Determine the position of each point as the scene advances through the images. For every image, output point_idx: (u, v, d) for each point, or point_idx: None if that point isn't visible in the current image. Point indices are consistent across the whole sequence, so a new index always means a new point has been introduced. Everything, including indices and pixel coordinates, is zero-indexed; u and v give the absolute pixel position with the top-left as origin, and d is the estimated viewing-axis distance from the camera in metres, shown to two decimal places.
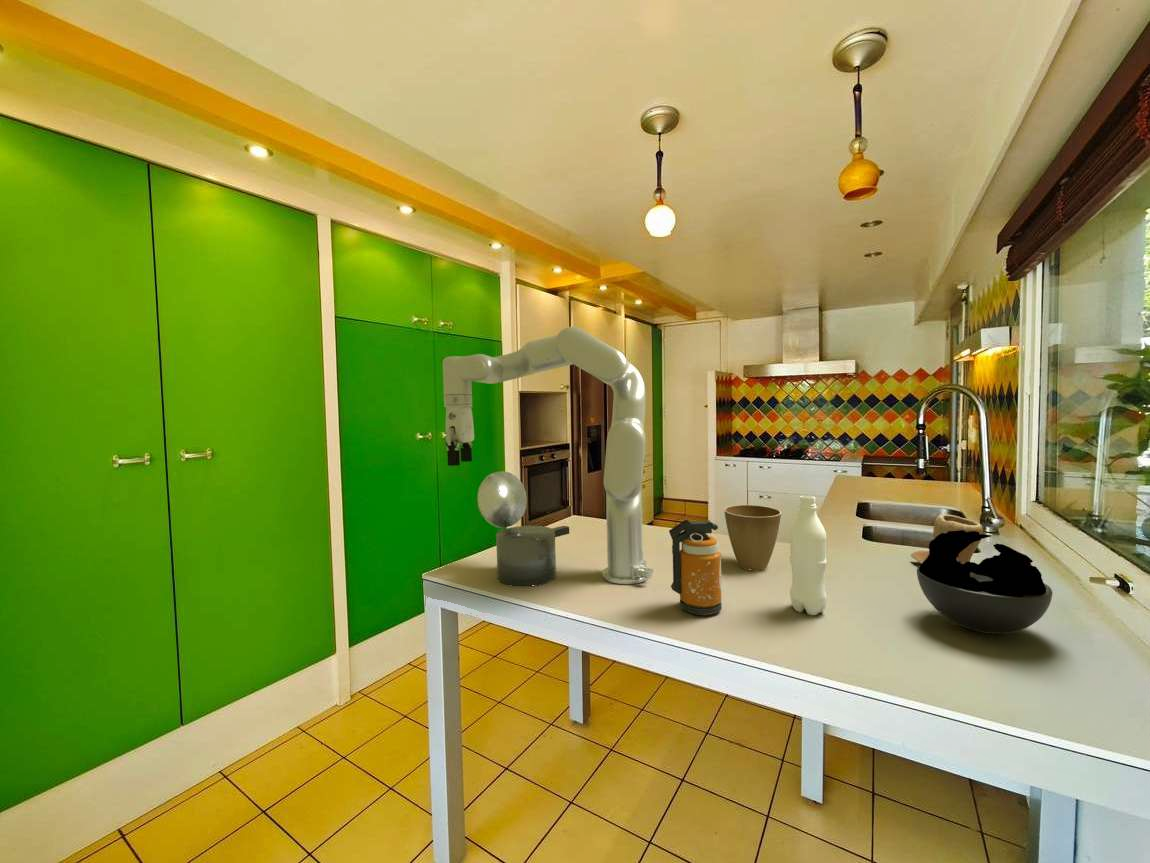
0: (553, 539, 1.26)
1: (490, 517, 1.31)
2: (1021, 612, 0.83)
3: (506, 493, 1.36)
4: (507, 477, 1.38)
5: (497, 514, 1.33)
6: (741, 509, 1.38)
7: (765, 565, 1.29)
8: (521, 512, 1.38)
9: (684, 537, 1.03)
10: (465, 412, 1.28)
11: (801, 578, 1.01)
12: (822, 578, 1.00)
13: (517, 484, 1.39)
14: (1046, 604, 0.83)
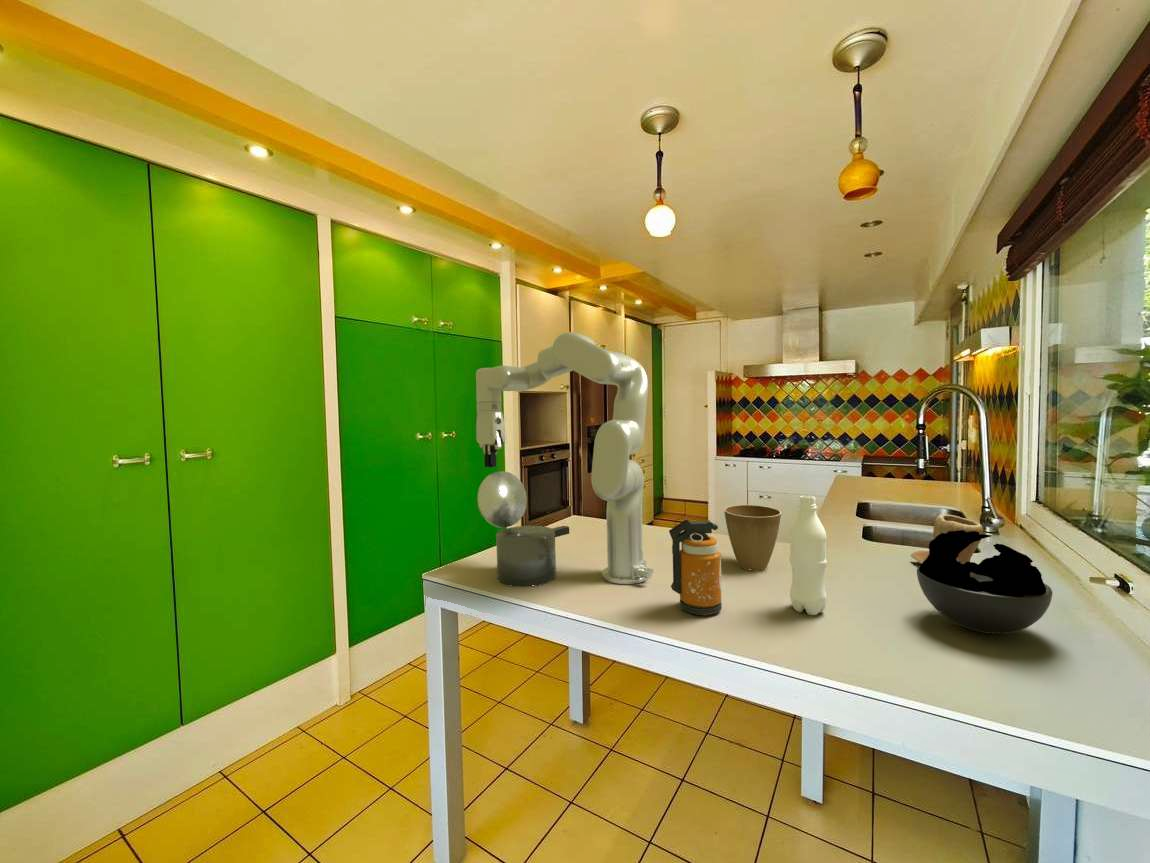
0: (553, 539, 1.26)
1: (490, 517, 1.31)
2: (1021, 612, 0.83)
3: (506, 493, 1.36)
4: (507, 477, 1.38)
5: (497, 514, 1.33)
6: (741, 509, 1.38)
7: (765, 565, 1.29)
8: (521, 512, 1.38)
9: (684, 537, 1.03)
10: None
11: (801, 578, 1.01)
12: (822, 578, 1.00)
13: (517, 484, 1.39)
14: (1046, 604, 0.83)
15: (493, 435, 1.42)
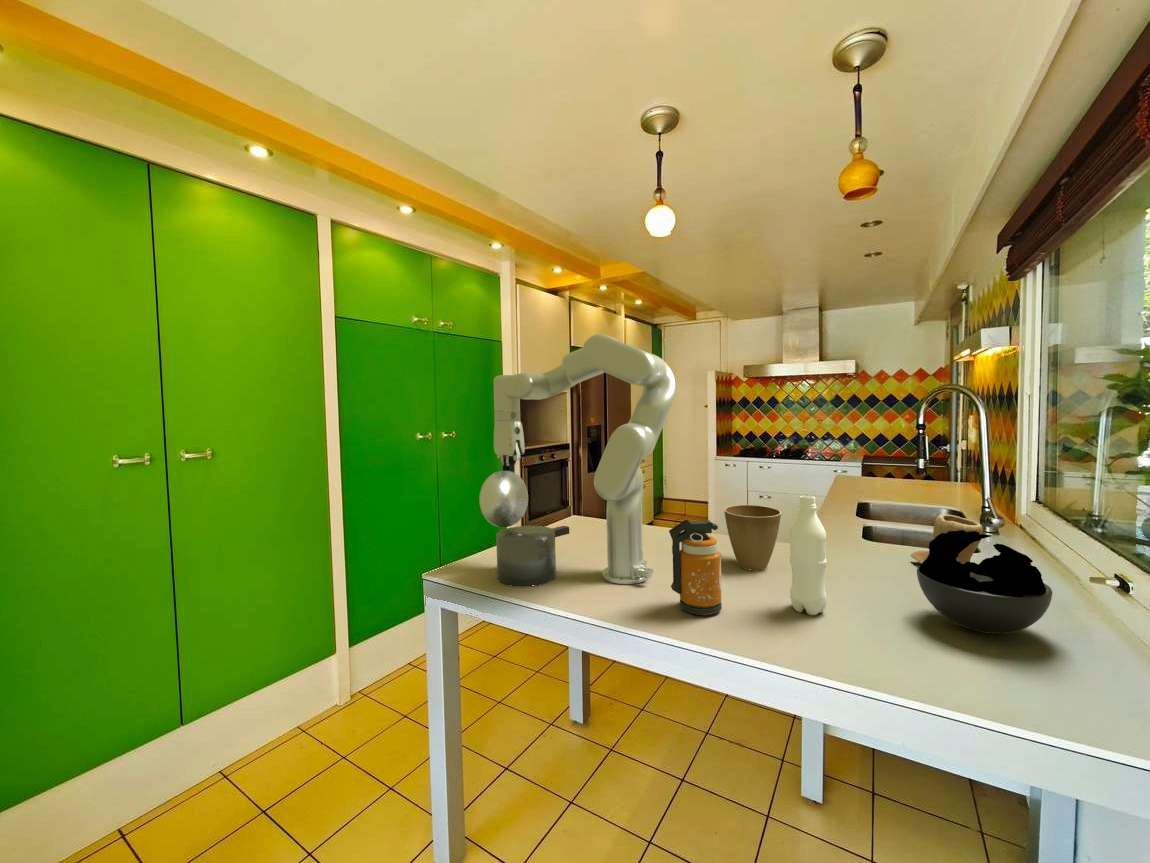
0: (553, 539, 1.26)
1: (491, 517, 1.31)
2: (1021, 612, 0.83)
3: (508, 493, 1.35)
4: (510, 477, 1.36)
5: (498, 514, 1.32)
6: (741, 509, 1.38)
7: (765, 565, 1.29)
8: (522, 512, 1.38)
9: (684, 537, 1.03)
10: None
11: (801, 578, 1.01)
12: (822, 578, 1.00)
13: (519, 484, 1.39)
14: (1046, 604, 0.83)
15: (512, 446, 1.35)
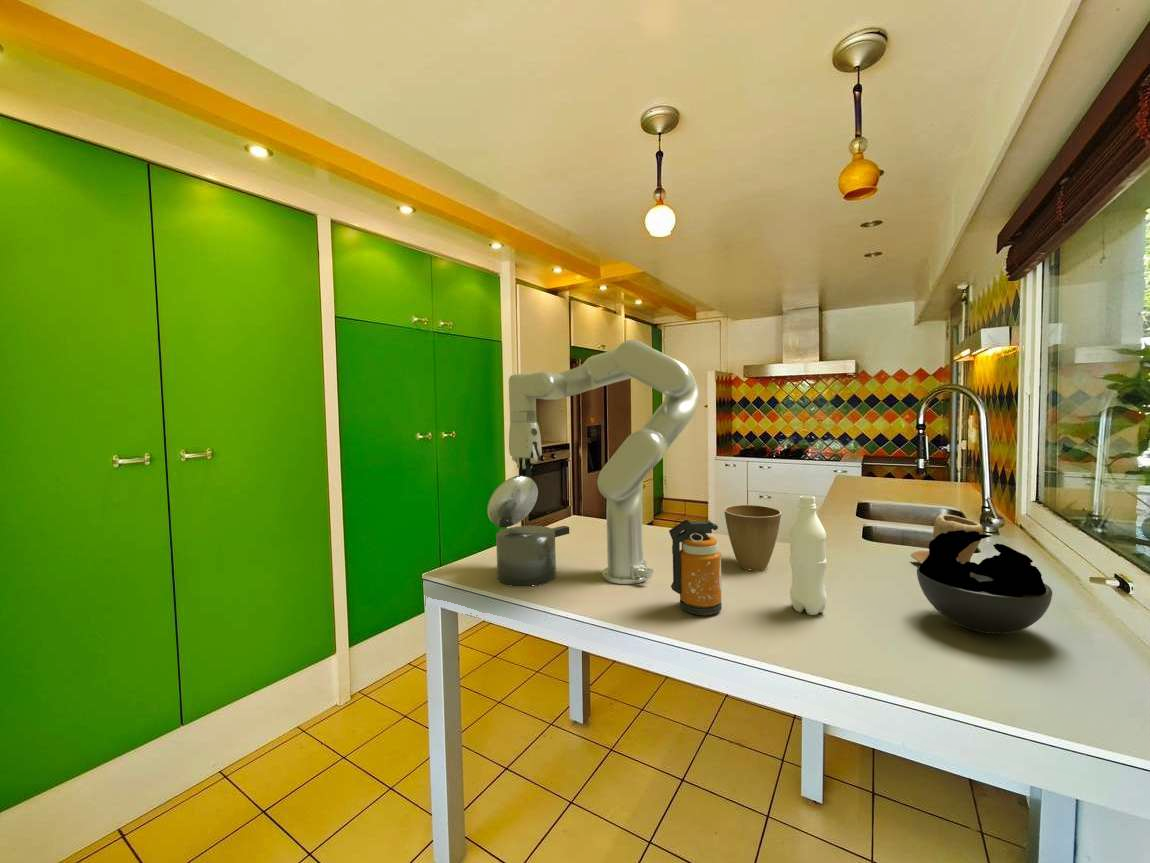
0: (553, 539, 1.26)
1: (495, 519, 1.29)
2: (1021, 612, 0.83)
3: (518, 497, 1.32)
4: (525, 483, 1.31)
5: (502, 517, 1.31)
6: (741, 509, 1.38)
7: (765, 565, 1.29)
8: (525, 514, 1.37)
9: (684, 537, 1.03)
10: None
11: (801, 578, 1.01)
12: (822, 578, 1.00)
13: (532, 489, 1.34)
14: (1046, 604, 0.83)
15: (529, 448, 1.29)
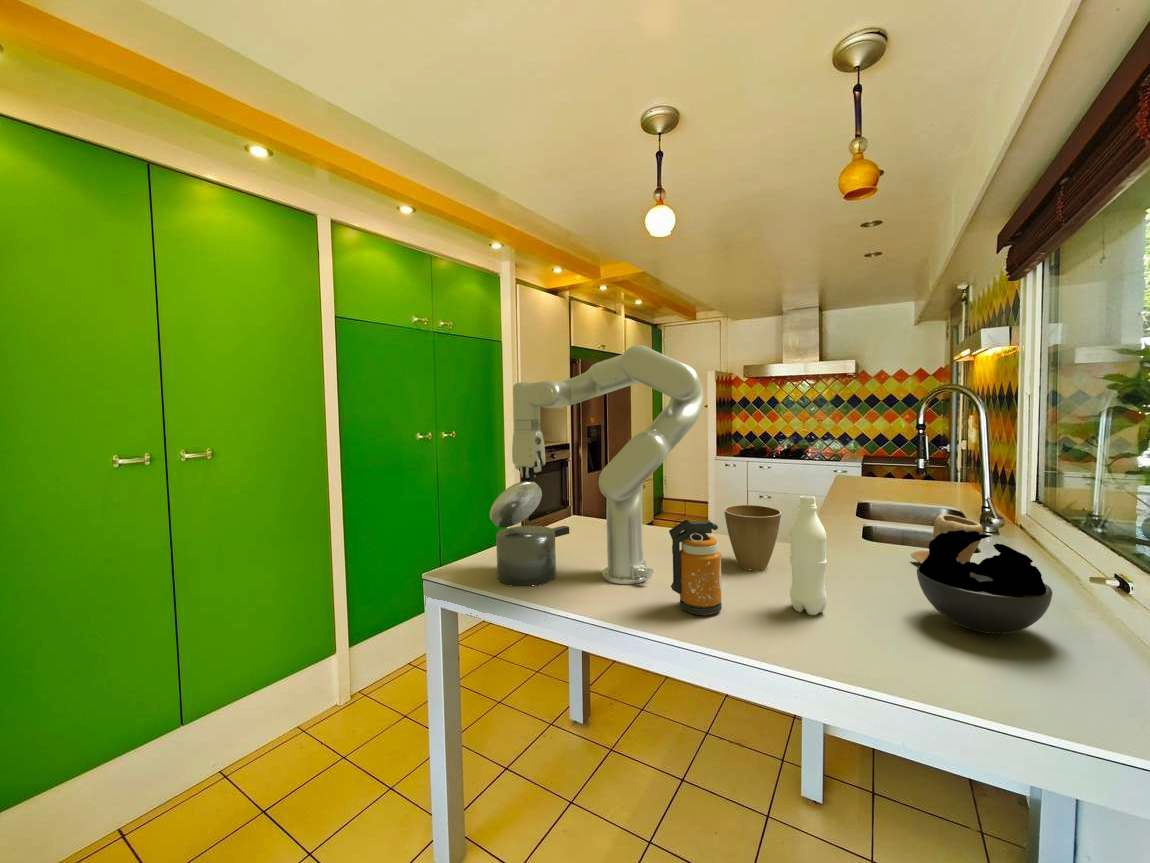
0: (553, 539, 1.26)
1: (496, 521, 1.29)
2: (1021, 612, 0.83)
3: (522, 501, 1.31)
4: (530, 488, 1.29)
5: (504, 518, 1.30)
6: (741, 509, 1.38)
7: (765, 565, 1.29)
8: (527, 515, 1.36)
9: (684, 537, 1.03)
10: None
11: (801, 578, 1.01)
12: (822, 578, 1.00)
13: (537, 493, 1.33)
14: (1046, 604, 0.83)
15: (533, 457, 1.28)
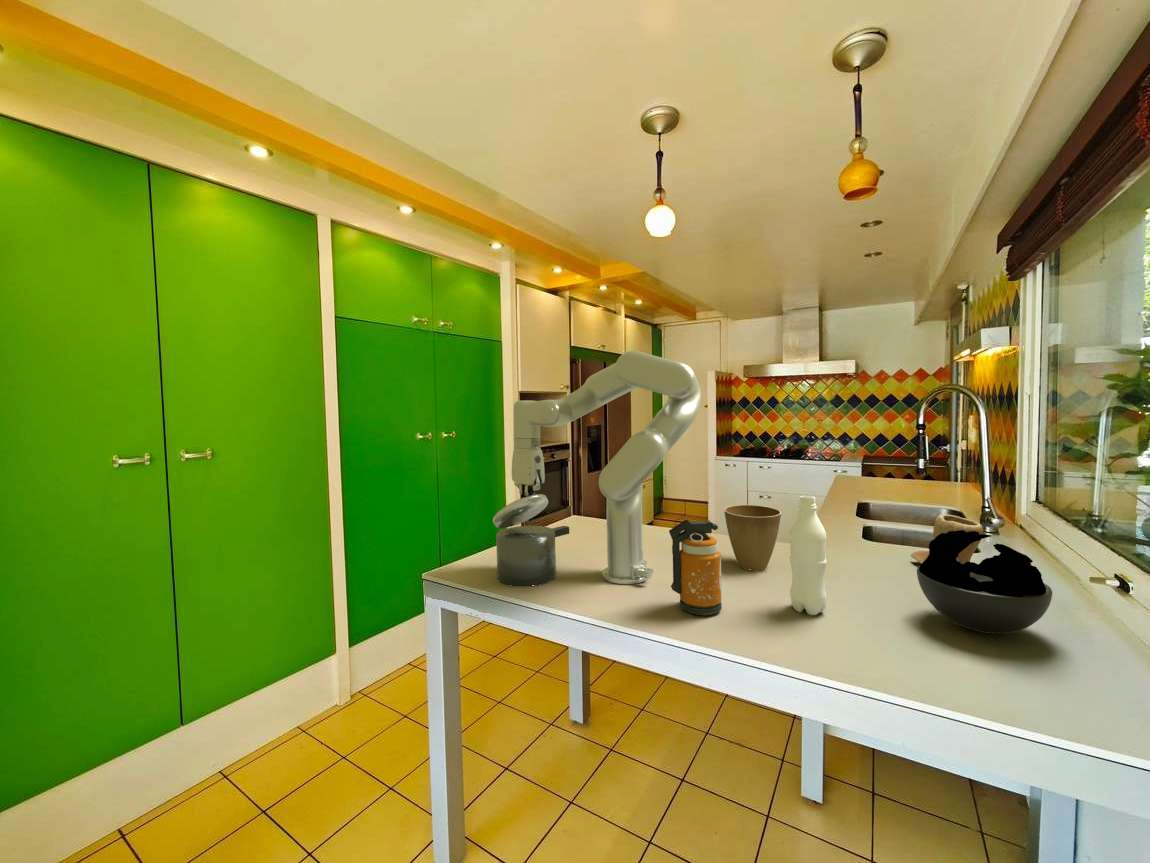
0: (553, 539, 1.26)
1: (498, 524, 1.28)
2: (1021, 612, 0.83)
3: (527, 510, 1.29)
4: (538, 501, 1.27)
5: (506, 522, 1.30)
6: (741, 509, 1.38)
7: (765, 565, 1.29)
8: (528, 518, 1.36)
9: (684, 537, 1.03)
10: None
11: (801, 578, 1.01)
12: (822, 578, 1.00)
13: (543, 503, 1.31)
14: (1046, 604, 0.83)
15: (532, 475, 1.28)
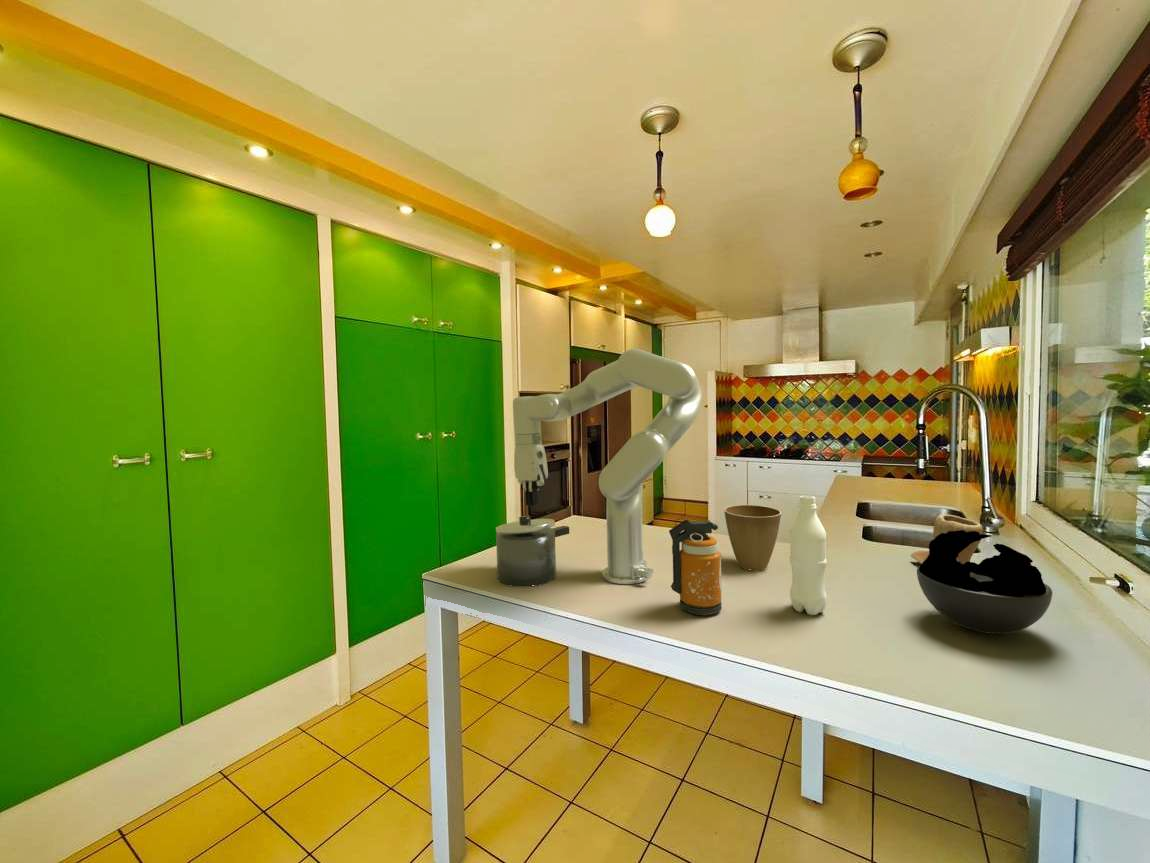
0: (553, 539, 1.26)
1: None
2: (1021, 612, 0.83)
3: None
4: None
5: None
6: (741, 509, 1.38)
7: (765, 565, 1.29)
8: None
9: (684, 537, 1.03)
10: None
11: (801, 578, 1.01)
12: (822, 578, 1.00)
13: None
14: (1046, 604, 0.83)
15: (535, 471, 1.28)
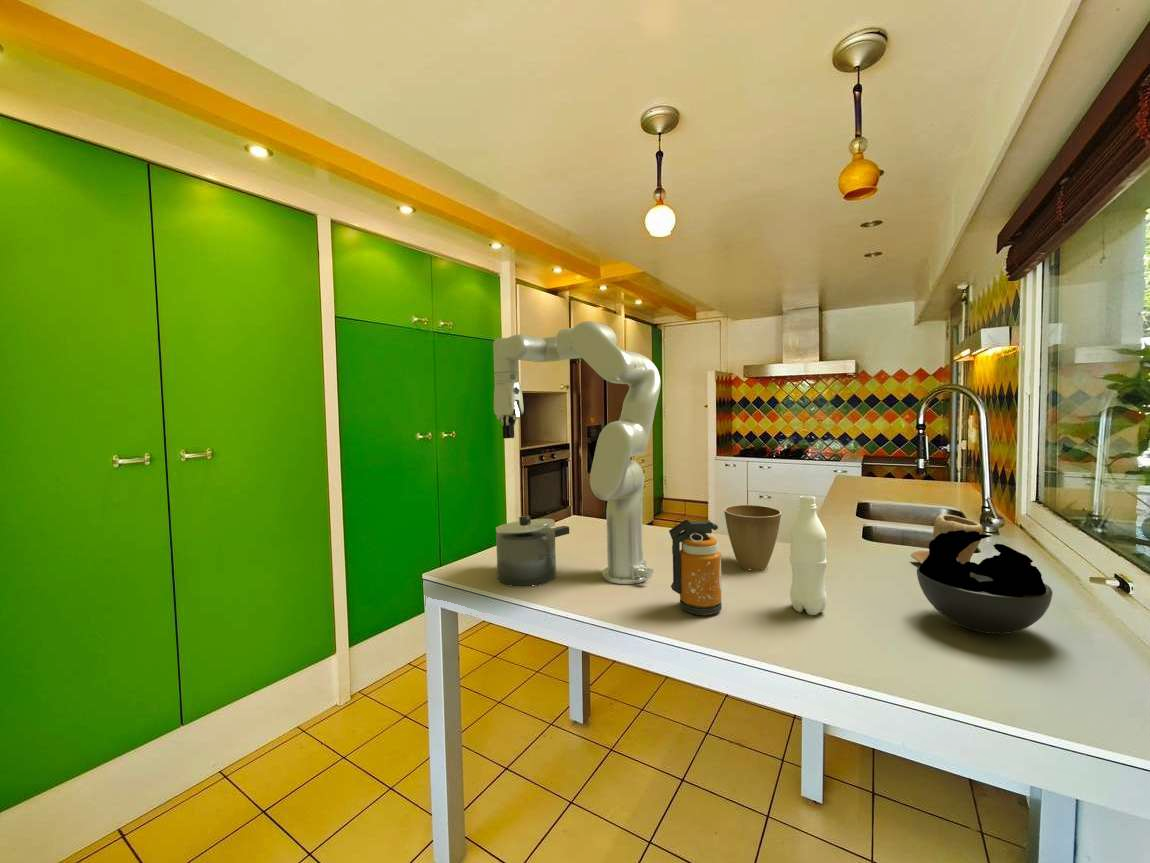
0: (553, 539, 1.26)
1: None
2: (1021, 612, 0.83)
3: None
4: None
5: None
6: (741, 509, 1.38)
7: (765, 565, 1.29)
8: None
9: (684, 537, 1.03)
10: None
11: (801, 578, 1.01)
12: (822, 578, 1.00)
13: None
14: (1046, 604, 0.83)
15: (511, 405, 1.41)
